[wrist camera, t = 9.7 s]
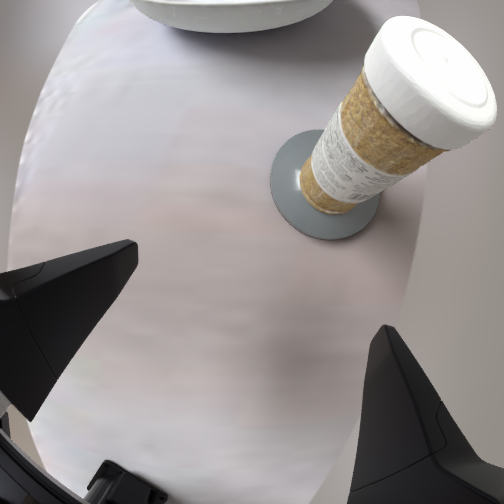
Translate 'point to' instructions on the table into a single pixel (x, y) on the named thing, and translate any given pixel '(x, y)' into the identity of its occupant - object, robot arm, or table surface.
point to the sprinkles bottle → (398, 115)
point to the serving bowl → (229, 13)
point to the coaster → (295, 203)
